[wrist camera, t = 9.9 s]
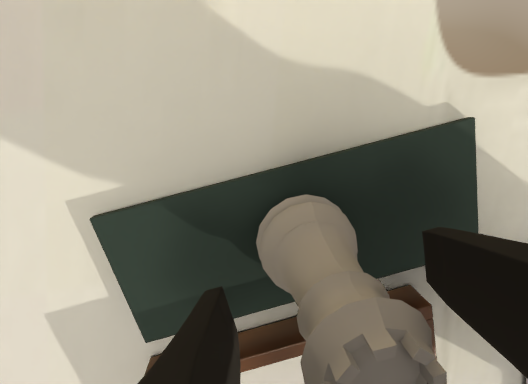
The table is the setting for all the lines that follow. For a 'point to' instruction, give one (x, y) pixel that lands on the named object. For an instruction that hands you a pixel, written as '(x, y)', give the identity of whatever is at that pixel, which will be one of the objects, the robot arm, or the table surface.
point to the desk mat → (271, 194)
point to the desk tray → (292, 342)
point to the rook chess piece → (342, 301)
